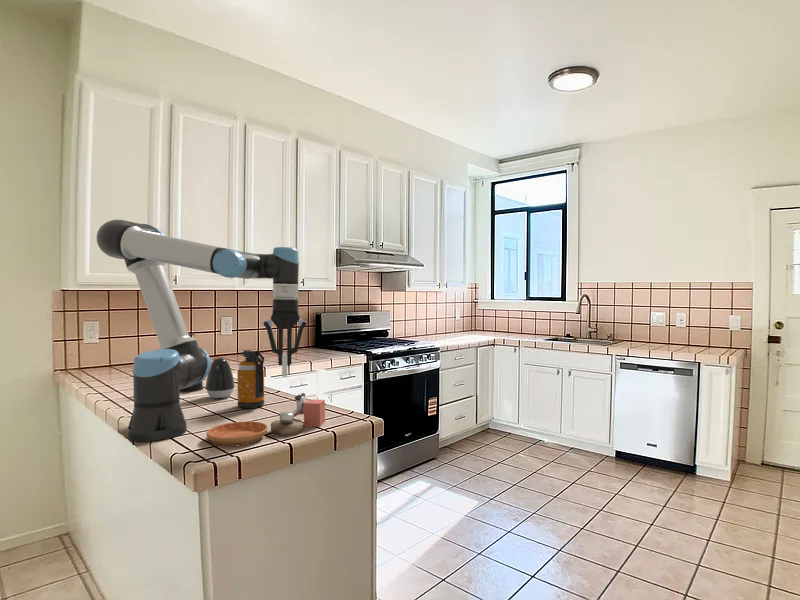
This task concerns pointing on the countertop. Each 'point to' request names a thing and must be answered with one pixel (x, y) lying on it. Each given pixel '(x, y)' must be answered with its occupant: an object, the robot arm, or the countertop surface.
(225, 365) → the black rounded egg shape
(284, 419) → the crank
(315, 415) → the block
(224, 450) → the countertop surface
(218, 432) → the saucer
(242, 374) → the canister
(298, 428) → the hub plate
